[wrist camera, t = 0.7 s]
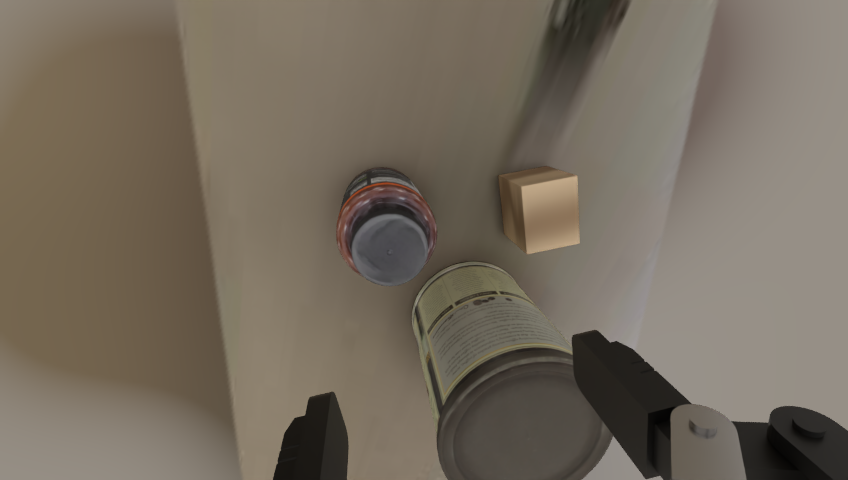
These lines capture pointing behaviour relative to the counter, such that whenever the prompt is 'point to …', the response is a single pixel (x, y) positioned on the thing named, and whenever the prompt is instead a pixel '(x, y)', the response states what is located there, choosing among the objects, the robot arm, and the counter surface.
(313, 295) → the counter surface
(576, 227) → the tan metallic cube
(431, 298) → the coffee can
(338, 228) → the supplement bottle
